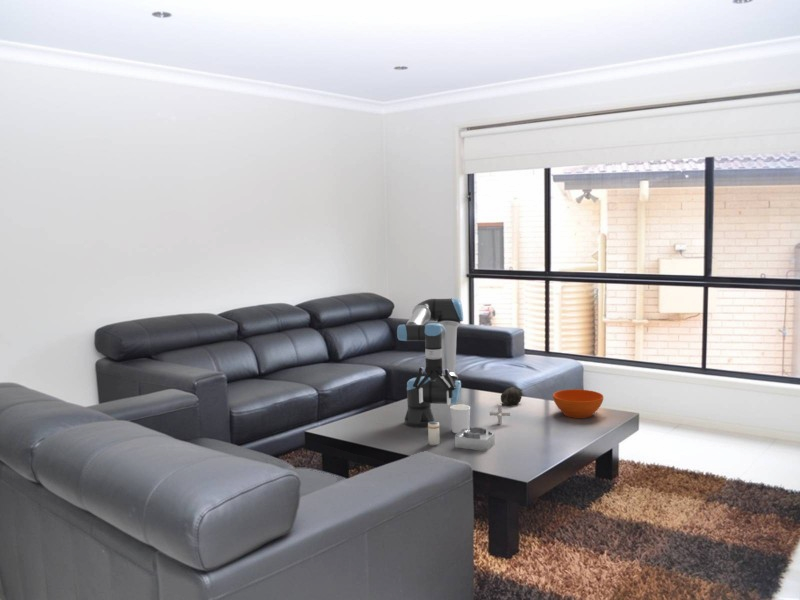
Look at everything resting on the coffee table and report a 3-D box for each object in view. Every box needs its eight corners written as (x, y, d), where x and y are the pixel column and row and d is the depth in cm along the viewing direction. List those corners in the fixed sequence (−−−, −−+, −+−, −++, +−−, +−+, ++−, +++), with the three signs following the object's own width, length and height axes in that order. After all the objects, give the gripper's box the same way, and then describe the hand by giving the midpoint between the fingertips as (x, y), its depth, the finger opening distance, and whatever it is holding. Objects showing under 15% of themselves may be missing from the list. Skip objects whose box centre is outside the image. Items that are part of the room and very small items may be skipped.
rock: (497, 403, 394) (499, 385, 393) (506, 401, 403) (509, 384, 402) (513, 407, 388) (516, 389, 387) (522, 405, 397) (525, 388, 397)
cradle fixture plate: (455, 447, 326) (454, 432, 325) (463, 440, 335) (463, 425, 335) (486, 451, 319) (486, 435, 318) (494, 443, 329) (494, 428, 328)
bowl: (585, 405, 388) (585, 387, 387) (613, 417, 364) (613, 398, 363) (544, 411, 380) (543, 392, 379) (569, 423, 356) (569, 403, 355)
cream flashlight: (426, 445, 329) (426, 423, 328) (431, 442, 334) (430, 420, 333) (437, 446, 327) (436, 424, 326) (441, 443, 332) (441, 421, 331)
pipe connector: (509, 427, 353) (509, 407, 352) (489, 426, 355) (488, 406, 354) (510, 421, 363) (510, 401, 362) (490, 420, 365) (490, 401, 364)
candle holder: (457, 435, 343) (456, 410, 341) (446, 430, 351) (446, 406, 350) (474, 432, 347) (474, 407, 346) (463, 426, 356) (463, 403, 355)
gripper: (405, 357, 328) (406, 403, 330) (456, 360, 318) (457, 408, 320) (411, 354, 335) (413, 399, 337) (462, 357, 324) (463, 403, 327)
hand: (434, 403), depth 329 cm, fingers open, 13 cm apart
